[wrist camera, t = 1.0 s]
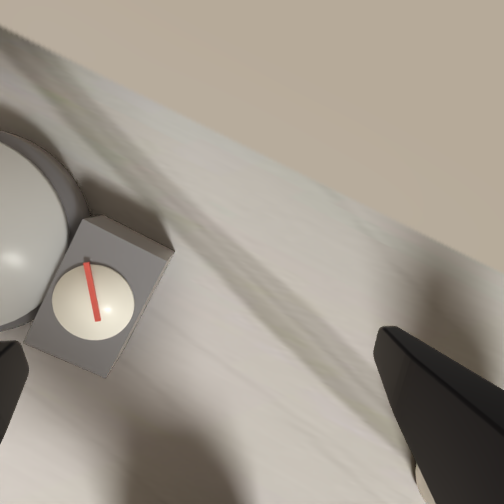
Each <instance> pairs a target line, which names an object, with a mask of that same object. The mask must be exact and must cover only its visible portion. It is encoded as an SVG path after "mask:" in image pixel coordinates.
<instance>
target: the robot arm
mask: <svg viewBox="0 0 504 504" xmlns="http://www.w3.org/2000/svg"><path fill="white" fill-rule="evenodd" d="M373 355H374V360H375V363H376V366H377V369H378V371H379V374H380V377H381V380H382V383H383V386H384V389H385V391H386V394H387V397H388V400H389V403H390V406H391V408H392V411H393V413H394V416H395V418H396V420H397V422H398V425H399V427H400V429H401V431H402V433H403V435H404V437H405V440H406V442H407V444H408V446H409V448H410V450H411V452H412V454H413V457H414V459H415V461H416V463H417V465H418V467H419V469H420V471H421V474H422V476H423V478H424V480H425V482H426V484H427V486H428V488H429V491H430V493H431V495H432V497H433V499H434V501H435V503H436V504H504V390H502V389H501V388H499V387H497V386H496V385H494V384H492V383H491V382H489V381H487V380H486V379H484V378H482V377H481V376H479V375H477V374H476V373H474V372H472V371H471V370H469V369H467V368H466V367H464V366H462V365H461V364H459V363H457V362H455V361H454V360H452V359H450V358H449V357H447V356H445V355H444V354H442V353H440V352H439V351H437V350H435V349H434V348H432V347H430V346H429V345H427V344H425V343H424V342H422V341H420V340H419V339H417V338H415V337H414V336H412V335H410V334H409V333H407V332H405V331H404V330H402V329H400V328H398V327H396V326H383V327H380V329H379V330H378V334H377V338H376V342H375V346H374V351H373ZM28 373H29V366H28V362H27V360H26V357H25V354H24V351H23V348H22V346H21V344H20V343H19V342H18V341H15V340H14V341H0V444H1V442H2V439H3V437H4V435H5V433H6V430H7V428H8V425H9V423H10V420H11V418H12V415H13V413H14V410H15V408H16V405H17V403H18V400H19V397H20V395H21V392H22V390H23V387H24V385H25V382H26V380H27V377H28Z"/></svg>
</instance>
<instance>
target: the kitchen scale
mask: <svg viewBox="0 0 504 504" xmlns="http://www.w3.org/2000/svg"><path fill="white" fill-rule="evenodd" d="M174 252H175V251H173V250H171V249H169V248H167V247H165V246H163V245H161V244H159V243H157V242H155V241H153V240H152V239H150V238H148V237H146V236H144V235H142V234H140V233H138V232H136V231H134V230H132V229H130V228H128V227H126V226H124V225H122V224H120V223H118V222H116V221H114V220H112V219H110V218H108V217H106V216H104V215H101V216H95V217H90V213H89V210H88V206H87V203H86V201H85V198H84V196H83V194H82V192H81V190H80V188H79V187H78V185H77V183H76V182H75V180H74V178H73V177H72V176H71V175H70V173H69V172H68V171H67V170H66V168H65V167H64V166H63V165H62V164H61V163H60V162H59V161H58V160H57V159H56V158H54V157H53V156H52V155H51V154H49V153H48V152H47V151H45V150H44V149H43V148H41V147H39V146H38V145H36V144H34V143H33V142H31V141H29V140H26V139H24V138H22V137H20V136H17V135H14V134H11V133H8V132H5V131H1V130H0V332H1V331H5V330H9V329H13V328H16V327H18V326H21V325H24V324H26V323H28V322H30V321H32V320H34V321H33V323H32V325H31V327H30V329H29V331H28V333H27V336H26V338H25V340H24V342H23V343H24V344H26V345H29V346H31V347H33V348H36V349H38V350H40V351H43V352H45V353H47V354H50V355H52V356H54V357H57V358H59V359H61V360H64V361H66V362H68V363H71V364H73V365H75V366H78V367H80V368H82V369H85V370H87V371H89V372H92V373H94V374H96V375H99V376H101V377H103V378H106V377H107V376H108V374H109V373H110V371H111V369H112V368H113V366H114V365H115V363H116V362H117V360H118V358H119V357H120V355H121V354H122V352H123V350H124V348H125V346H126V344H127V342H128V340H129V338H130V336H131V335H132V333H133V331H134V329H135V327H136V325H137V323H138V321H139V319H140V317H141V315H142V314H143V312H144V310H145V308H146V306H147V304H148V302H149V300H150V298H151V296H152V294H153V293H154V291H155V289H156V287H157V285H158V283H159V281H160V279H161V277H162V275H163V273H164V272H165V270H166V268H167V266H168V264H169V262H170V260H171V258H172V256H173V254H174Z"/></svg>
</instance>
